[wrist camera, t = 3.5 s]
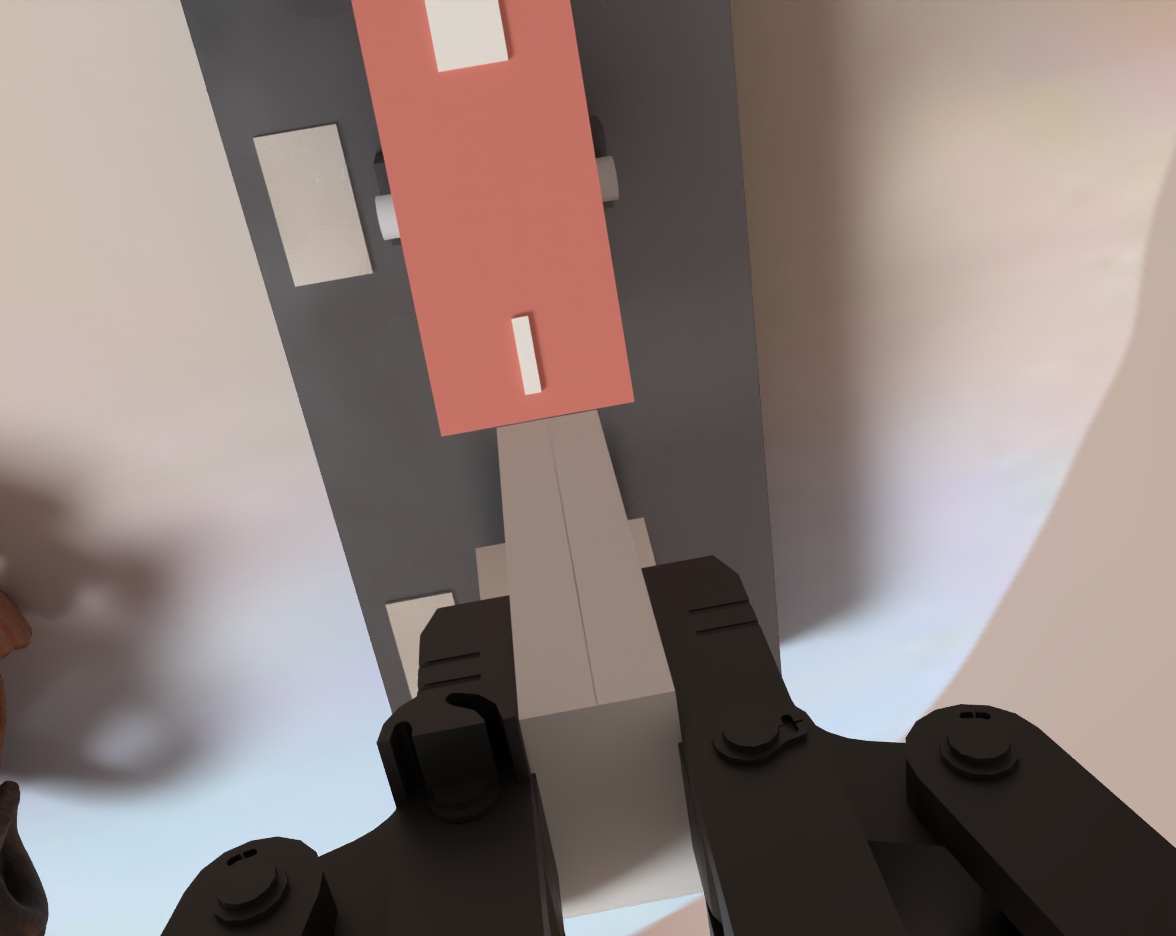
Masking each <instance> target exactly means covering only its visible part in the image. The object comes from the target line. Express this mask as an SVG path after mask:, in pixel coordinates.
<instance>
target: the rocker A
mask: <svg viewBox="0 0 1176 936" xmlns="http://www.w3.org/2000/svg"><path fill="white" fill-rule="evenodd" d="M351 2H352V7H353V11H354V16H355V21H356V26H357V31H358V36H359V40H360V45H361V50H362V55H363V60H364V65H365V69H366V74H367V79H368V84H369V89H370V94H371V98H372V103H373V108H374V113H375V118H376V123H377V127H378V132H379V137H380V142H381V147H382V152H383V156H384V161H385V166H386V171H387V176H388V181H389V185H390V190H391V194H387V195H381V196H376V197H375V203H376V211H377V216H378V221H379V225H380V229H381V233H382V236H383V238H384V240H389V239H395V238H400V239H401V243H402V248H403V253H404V258H405V263H406V268H407V272H408V277H409V282H410V287H411V292H412V297H413V301H414V306H415V311H416V316H417V321H418V326H419V330H420V335H421V340H422V345H423V350H424V355H425V359H426V364H427V369H428V374H429V379H430V384H431V388H432V393H433V398H434V403H435V408H436V413H437V417H438V422H439V427H440V432H441V437H442V436H448V435H453V434H459V433H464V432H470V431H475V430H481V429H486V428H492V427H498V426H503V425H509V424H514V423H520V422H525V421H531V420H536V419H542V418H547V417H553V416H558V415H564V414H569V413H575V412H580V411H586V410H592V409H597V408H603V407H608V406H614V405H619V404H625V403H630V402H635V401H634V395H633V389H632V383H631V376H630V370H629V364H628V358H627V352H626V345H625V339H624V333H623V327H622V320H621V314H620V308H619V302H618V296H617V289H616V283H615V277H614V271H613V264H612V258H611V252H610V246H609V240H608V233H607V227H606V221H605V215H604V208H603V202H606V201H612V200H618V199H619V190H618V182H617V175H616V169H615V165H614V161H613V157H612V156H606V157H600V158H595V152H594V146H593V140H592V134H591V128H590V121H589V115H588V109H587V103H586V96H585V90H584V84H583V78H582V72H581V65H580V59H579V53H578V47H577V40H576V34H575V28H574V22H573V16H572V9H571V3H570V0H351Z"/></svg>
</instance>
